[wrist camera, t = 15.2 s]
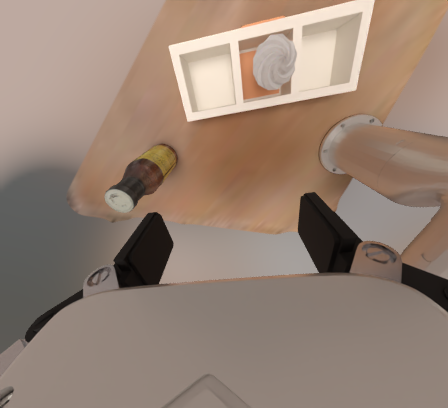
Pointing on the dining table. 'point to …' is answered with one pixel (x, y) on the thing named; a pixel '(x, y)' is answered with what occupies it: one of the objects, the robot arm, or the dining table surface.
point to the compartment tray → (246, 48)
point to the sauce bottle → (142, 178)
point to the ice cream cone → (274, 62)
